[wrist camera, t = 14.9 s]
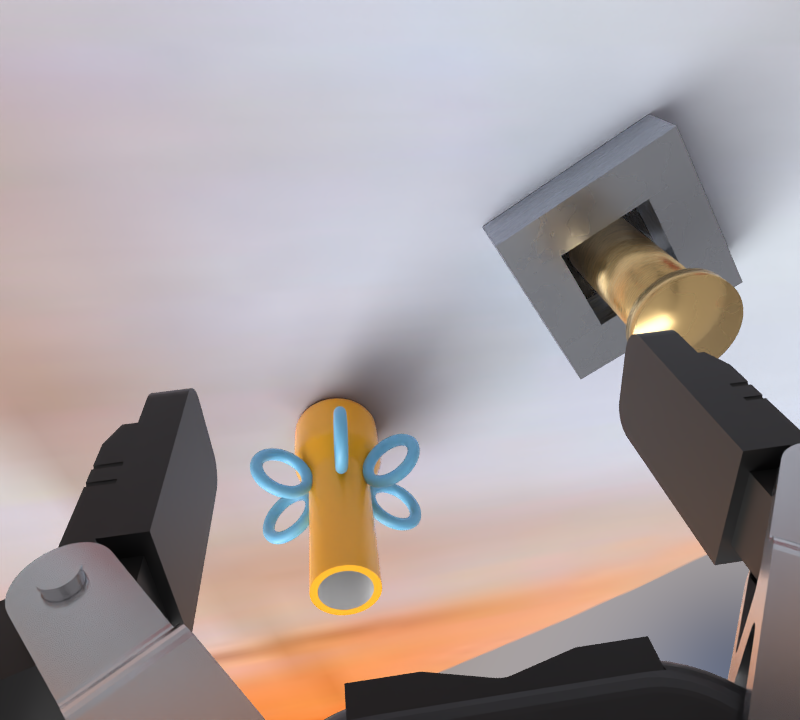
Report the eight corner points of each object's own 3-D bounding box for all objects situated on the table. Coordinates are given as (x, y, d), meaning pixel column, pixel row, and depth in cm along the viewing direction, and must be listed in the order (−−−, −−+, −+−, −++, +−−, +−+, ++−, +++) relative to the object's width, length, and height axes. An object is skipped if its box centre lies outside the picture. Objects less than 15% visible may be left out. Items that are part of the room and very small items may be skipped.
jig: (649, 114, 40) (676, 125, 37) (714, 261, 46) (742, 282, 43) (482, 227, 43) (495, 246, 40) (563, 354, 49) (580, 379, 46)
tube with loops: (308, 509, 53) (309, 681, 40) (225, 423, 48) (196, 588, 35) (440, 436, 51) (485, 593, 38) (367, 338, 46) (391, 481, 33)
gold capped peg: (621, 184, 42) (721, 253, 32) (655, 253, 45) (757, 336, 35) (543, 236, 44) (615, 318, 33) (580, 299, 46) (658, 394, 36)
